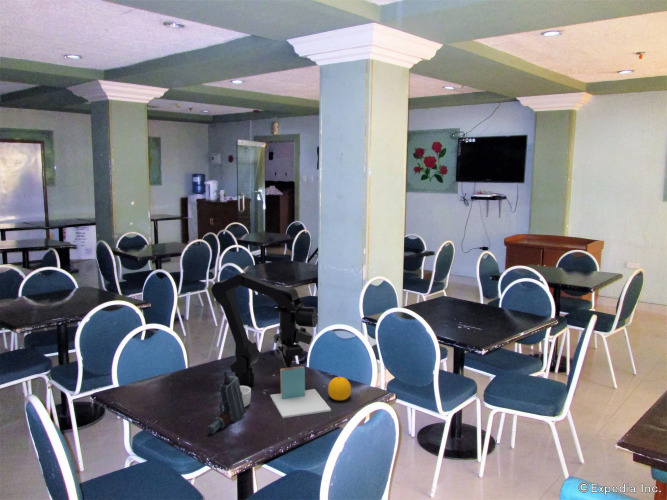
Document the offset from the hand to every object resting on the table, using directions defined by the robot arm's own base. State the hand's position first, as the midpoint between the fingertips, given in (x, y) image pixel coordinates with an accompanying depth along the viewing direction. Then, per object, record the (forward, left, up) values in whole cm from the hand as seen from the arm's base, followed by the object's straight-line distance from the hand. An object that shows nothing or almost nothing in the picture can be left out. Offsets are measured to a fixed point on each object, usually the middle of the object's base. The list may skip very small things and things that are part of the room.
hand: (288, 368), depth 189 cm
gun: (-24, -19, -9) cm, 32 cm away
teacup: (-19, -7, -9) cm, 22 cm away
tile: (0, -6, -8) cm, 10 cm away
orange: (+15, -11, -9) cm, 21 cm away
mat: (+1, -11, -9) cm, 14 cm away
